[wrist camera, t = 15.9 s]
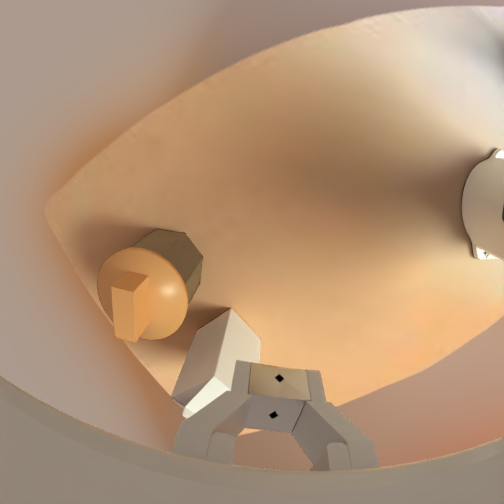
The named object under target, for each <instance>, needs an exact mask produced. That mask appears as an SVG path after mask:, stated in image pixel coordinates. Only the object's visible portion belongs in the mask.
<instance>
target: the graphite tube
mask: <svg viewBox="0 0 504 504" xmlns="http://www.w3.org/2000/svg"><path fill="white" fill-rule="evenodd" d="M131 247H138V248H145V249H148V250H151V251H154V252H156V253H158V254H159V255H161V256H163V257H164V258H165V259H167V260H168V261H169V262H170V263H171V264H172V265H173V266H174V267H175V268H176V269H177V271H178V272H179V274H180V275H181V277H182V279H183V281H184V283H185V286H186V289H187V293H188V305H189V303H190V301H191V299H192V297H193V295H194V293H195V292H196V290H197V288H198V286H199V284H200V278H201V268H202V259H203V256H202V255H201V253H200V252H199V251H198V250H197V248H196V247H195V246H194V244H193V243H192V242H191V241H190V239H189V238H188V237H187V235H186V234H185V233H180V232H174V231H168V230H162V229H156V230H155V231H153V232H152V233H150V234H149V235H147V236H146V237H144V238H143V239H142V240H140V241H139V242H137V243H136V244H134V245H133V246H131ZM131 247H130V248H131Z"/></svg>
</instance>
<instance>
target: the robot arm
mask: <svg viewBox="0 0 504 504" xmlns="http://www.w3.org/2000/svg"><path fill="white" fill-rule="evenodd" d="M462 216H463V222H464V226H465V229H466V231H467V233H468V235H469V237H470V239H471V241H472V248H473V254H474V257H475V258H477V259H479V260H487V259H501V260H503V261H504V151H503V150H501V149H496V150H495V151H494V152H493V154H492V155H491V157H490V158H488V159H487V160H484V161H482V162H480V163H479V164H477V165H476V166H475V167H474V169H473V170H472V171H471V173H470V175H469V176H468V179H467V181H466V184H465V187H464V191H463V197H462ZM484 251H485V252H484ZM244 428H250V429H260V430H270V431H278V432H287V433H292V435H293V437H294V438H295V440H296V441H297V443H298V444H299V445H300V447H301V448H302V449H303V451H304V453H305V454H306V455H307V457H308V458H309V459H310V461H311V462H312V463H313V467H312V468H311V469H310V471H294V470H275V469H264V468H254V467H245V466H238V465H232V461H233V452H234V444H235V437H237V436H238V434H239V433H240V432H241V431H242V430H243V429H244ZM0 504H504V437H501V438H498V439H496V440H493V441H490V442H488V443H485V444H482V445H479V446H476V447H473V448H470V449H466V450H463V451H459V452H456V453H452V454H448V455H445V456H440V457H436V458H432V459H427V460H423V461H418V462H412V463H406V464H400V465H393V466H386V467H380V466H379V463H378V459H377V455H376V451H375V448H374V444H373V441H372V440H371V439H370V438H369V437H368V436H366V435H365V434H364V433H363V432H362V431H361V430H360V429H359V428H357V427H356V426H355V425H354V424H353V423H352V422H351V421H350V420H349V419H348V418H346V417H345V416H344V415H343V414H342V413H341V412H340V411H339V410H338V409H337V408H336V407H335V406H334V405H333V404H332V403H330V402H326V398H325V393H324V388H323V383H322V378H321V373H320V371H317V370H302V369H293V368H284V367H277V366H271V365H265V364H259V363H253V362H251V363H250V362H247V361H241V360H236V364H235V369H234V374H233V380H232V385H231V391H225V392H224V393H223V394H221V395H220V396H219V397H217V398H216V399H214V400H213V401H212V402H210V403H209V404H208V405H206V406H205V407H203V408H202V409H201V410H199V411H198V412H196V413H195V414H193V415H192V416H191V417H189V418H188V419H186V420H185V421H183V422H182V423H181V424H180V427H179V430H178V433H177V436H176V440H175V443H174V446H173V449H172V452H167V451H164V450H161V449H157V448H153V447H150V446H147V445H143V444H141V443H137V442H134V441H131V440H128V439H126V438H123V437H120V436H117V435H115V434H112V433H109V432H107V431H104V430H101V429H99V428H97V427H94V426H92V425H90V424H87V423H85V422H82V421H80V420H78V419H76V418H74V417H72V416H70V415H68V414H65V413H63V412H61V411H59V410H57V409H55V408H54V407H52V406H50V405H48V404H46V403H44V402H42V401H41V400H39V399H37V398H35V397H33V396H32V395H30V394H28V393H26V392H25V391H23V390H21V389H20V388H18V387H17V386H15V385H14V384H12V383H10V382H9V381H7V380H6V379H4V378H3V377H1V376H0Z"/></svg>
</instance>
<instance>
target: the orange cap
mask: <svg viewBox="0 0 504 504" xmlns="http://www.w3.org/2000/svg"><path fill="white" fill-rule="evenodd" d="M97 289H98V295H99V299H100V302H101V304H102V306H103V308H104V310H105V312H106V313H107V315H108V316H109V317H110V319H111V320H112V321H113V322H114V330H115V337H116V338H120V339H123V340H126V341H130V342H133V343H136V341H137V340H138V338H142V339H148V340H157V339H162V338H165V337H168V336H170V335H171V334H173V333H174V332H175V331H176V330H177V329H178V328H179V327H180V326H181V324H182V322H183V320H184V318H185V316H186V313H187V310H188V293H187V289H186V286H185V283H184V281H183V279H182V277H181V275H180V274H179V272H178V271H177V269H176V268H175V267H174V266H173V265H172V264H171V263H170V262H169V261H168V260H167V259H165V258H164V257H163V256H161V255H159V254H158V253H156V252H154V251H151V250H148V249H145V248H138V247H131V248H125V249H123V250H120V251H118V252H116V253H115V254H113V255H112V256H111V257H109V258H108V259H107V260H106V261H105V262H104V264H103V265H102V267H101V269H100V271H99V275H98V280H97Z"/></svg>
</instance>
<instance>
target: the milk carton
mask: <svg viewBox="0 0 504 504" xmlns="http://www.w3.org/2000/svg"><path fill="white" fill-rule="evenodd" d="M260 345H261V339H260V338H259V337H258V336H257V335H256V334H255V333H254V332H253V331H252V330H251V328H250V327H249V326H248V325H247V324H246V323H245V322H244V321H243V320H242V319H241V318H240V317H239V315H238V314H237V313H236V312H235V311H234V310H233V309H232V308H231V309H229V310H228V311H226V312H225V313H223V314H222V315H220V316H219V317H217V318H216V319H214V320H213V321H211V322H209V323H208V324H206V325H205V326H203V327H202V328H200V329H199V330H197V332H196V334H195V337H194V339H193V342H192V344H191V347H190V349H189V352H188V354H187V357H186V359H185V362H184V364H183V367H182V370H181V372H180V375H179V377H178V380H177V382H176V385H175V387H174V390H173V393H172V395H171V399H172V400H174V401H175V402H176V403H177V404H179V405H180V406H181V407H182V408H183V412H182V415H183V416H184V417H185V418H186V419H188V418H189V417H191V416H192V415H193V414H195V413H196V412H198V411H199V410H201V409H202V408H203V407H205V406H206V405H208V404H209V403H210V402H212V401H213V400H214V399H216V398H217V397H219V396H220V395H221V394H223V393H224V392H225V391H231V385H232V380H233V374H234V369H235V364H236V360H241V361H247V362H250V363H251V362H253V363H259V362H260Z"/></svg>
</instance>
